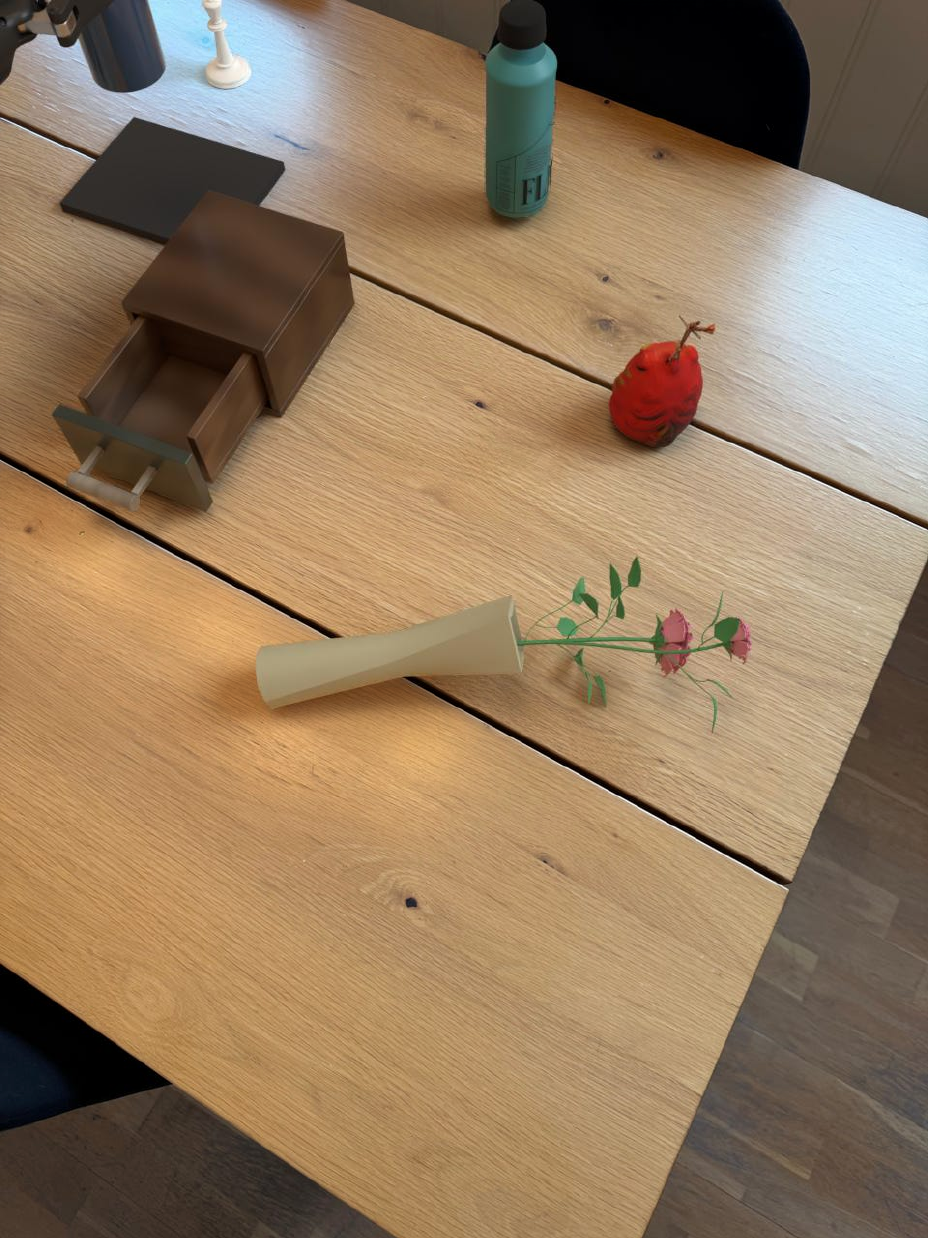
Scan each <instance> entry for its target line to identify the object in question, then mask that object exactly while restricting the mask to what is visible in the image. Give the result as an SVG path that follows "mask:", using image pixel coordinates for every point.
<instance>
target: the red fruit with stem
mask: <svg viewBox="0 0 928 1238" xmlns="http://www.w3.org/2000/svg"><path fill="white" fill-rule="evenodd" d="M678 317H679V318H680V320H681V321H682V323H683V324H684V326H685V327H686V329H685V331H684V334H683V336H682V338H681V339H676V340H671V341H670V340H669V341H668V340H667V341H661V342H652V343H646V344H645V345H643V346H642V347H641V348H640V349H639V352H636V354H634V355H633V356H632V358H631V359H630V360H628V362H627V363H626V365H625V367H624V369H623V370H622V371H621V372H619V374H618V375H617V376H615V378H614V379H613V382H612V384H611V395H610V397H609V400H608V409H609V414H610V417H611V420H612V422H613V424H614V426H615V427H616V429H617V430H618V431H620V433H621V434H622V435H624V436H625V437H627V438H628V439H630V440H632V441H635V442H636V443H640V444H643V445H644V444H645V445H648V446H649V447H651V448H654V449H657V448H658V449H659V448H665V447H669V446H670V445H672V444H673V443H674V441H675V440H676V438H677V437H678V436H679V435H680V434H681V433H683V432H684V431H685V430H686V429H687V427H689V426H690V424H691V422H692V421H693V419H694V417H695V416H696V414H697V410H698V404H699V402H700V399H701V396H702V393H703V386H704V380H703V373H702V367H701V364H700V362H699V358H700V357H699V352H698V351H697V349H696V347H695V346H692V345H691V344H689V345H686V344H685V343H686V341H688V338H689V337H690V335H691V333H692V334H693V335H694V336H695V337H696V338H697V339H699V340H701V336H700V334H698V332H702V333H706V334H709V335H714V334H715V332H716V328H715V327H716V324H715V323H713V324H710V325H708V326H699V325H701V321H700V320H697V321H692V322H689V323H688V322H686V320H685V319H684V317H682V315H681V314H679V316H678Z"/></svg>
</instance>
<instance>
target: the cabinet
mask: <svg viewBox="0 0 928 1238" xmlns="http://www.w3.org/2000/svg"><path fill="white" fill-rule="evenodd" d="M120 304H121V306H122V309H123V311H124V313H125V316H126V317H127V320H128V322H129V324H130V326H131V325H132V324H133V322H134V321H135V320H136V318H137V317H138V316H139V315H142V316H145V317H148V318H151V319H154V320H157V321H160V322H163V323H165V324H168V325H171V326H174V327H177V328H180V329H183V330H186V331H189V332H192V333H195V334H197V335H200V336H203V337H206V338H209V339H212V340H215V341H218V342H221V343H224V344H227V345H229V346H232V347H235V348H238V349H241V350H244V351H247V352H250V353H253V354H256V355H257V358H258V362H259V365H260V369H261V372H262V375H263V379H264V382H265V386H266V389H267V393H268V396H269V400H268V402H267V403H266V405H265V406H264V408H263V409H262V411H261V412H264V413H266V414H269V415H273V416H275V417H279V418H283V416H284V414H285V413H286V411H287V410H288V408H289V406H290V405H291V403H292V402H293V400H294V399H295V397H296V395H297V394H298V393H299V391H300V390H301V388H302V386H303V385H304V383H305V382H306V380H307V379H308V377H309V375H310V374H311V372H312V371H313V369H314V368H315V366H316V364H318V361H319V360H320V358H321V357H322V355H323V354H324V353H325V351H326V350H327V348H328V346H329V345H330V343H331V342H332V340H333V338H334V337H335V335H336V334H337V333H338V331H339V329H340V327H341V326H342V324H343V323H344V321H345V320H346V318H347V317H348V315H349V313H350V312H351V311H352V309H353V307H354V306H355V298H354V291H353V285H352V280H351V272H350V266H349V259H348V253H347V246H346V239H345V232H344V231H342V230H338V229H335V228H332V227H329V226H325V225H322V224H319V223H316V222H313V221H309V220H306V219H303V218H299V217H296V216H293V215H290V214H287V213H283V212H280V211H278V210H274V209H271V208H267V207H264V206H262V205H261V206H260V205H259V206H258V205H255V204H252V203H248V202H245V201H242V200H239V199H235V198H232V197H229V196H226V195H223V194H219V193H216V192H213V191H210V190H208V192H207V193H206V194H205V195H204V197H203V198H202V199H201V201H200V202H199V203H198V204H197V206H196V207H195V208H194V209H193V211H192V212H191V213H190V215H189V216H188V217H187V218H186V220H185V221H184V222H183V224H182V225H181V226H180V227H179V229H178V230H177V231H176V232H175V234H174V235H173V236H172V238H171V239H170V240H169V241H168V243H167V244H166V245H165V244H164V246H163V248H162V249H161V250H160V252H159V253H158V254H157V255H156V257H155V258H154V259H153V260H152V262H150V264H149V266H148V267H147V268H146V269H145V271H144V272H143V273H142V275H141V276H140V277H139V278H138V280H137V281H136V283H135V284H134V285H133V286H132V287H131V289H130V290H129V291H128V292H127V294H125V296H124V297H123V299H122V300H121V302H120Z"/></svg>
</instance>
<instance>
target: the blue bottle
mask: <svg viewBox="0 0 928 1238" xmlns="http://www.w3.org/2000/svg"><path fill="white" fill-rule="evenodd" d="M149 3H150V2H149V0H115V1H114V2H112V3H111V4H110V5H109V6H108V7H107V8H106V9H105V10H103V11H102V12H101V13H100V14H99V15H98V16H97V17H95V18H94V19H93V20H92V21H91V22H90V23H89V24H88V25H86V26H85V27H84V28H83V30H82V32H81V34H80V35H79V37H78V39H77V41H78V42H79V44H80V48H81V50H82V54H83V56H84V59H85V61H86V64H87V68H88V70H89V72H90V75H91V77H92V81H94V83H95V84H96V85H97V86H98V87H99V88H101V89H103V90H105V91H108V92H112V93H117V94H118V93H119V94H129V93H135V92H138V91H142V90H145V89H147V88H149V87H152V86H153V85H155V84H156V83H157V82H158V81H159V80H160V79H161V78H162V77H163V76H164V73H165V71H166V68H167V61H166V57H165V54H164V51H163V47H162V43H161V40H160V37H159V33H158V30H157V26H156V23H155V19H154V17H153V14H152V13H153V12H152V9H151V6H150V4H149Z"/></svg>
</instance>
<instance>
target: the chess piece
mask: <svg viewBox="0 0 928 1238" xmlns="http://www.w3.org/2000/svg"><path fill="white" fill-rule="evenodd" d="M201 5H202V7H203V9H204V11H205V13H206V14H207V16H208V18H209V20H208V21H207V23H206V28H207V29H208V31H210V32H212V33H213V34H214V42H215V49H216V50H215V51H216V57H215V58H212V59H211V60H210V61H209V62H208V64H207V65H206V68H205V75H206V76H205V78H206V81H207V82H208V84H210V85H211V86H213V87H215V88H217V89H222V90H231V89H235V88H238V87H240V86H242V85H244V84H246V83H247V82H248V81H249V80H250V78H251V75H252V69H251V66H250V63H249V62H248V60H247V59H246V58H244V57H243V56H240V55H238V54H232V50H231V48H230V45H229V44H228V43H229V42H228V40H227V37H226V34H225V31H224V30H226V29H227V28H228V21H227V19H225V18H224V17H222V9H223V8H222V7H223V0H202V2H201Z"/></svg>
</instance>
